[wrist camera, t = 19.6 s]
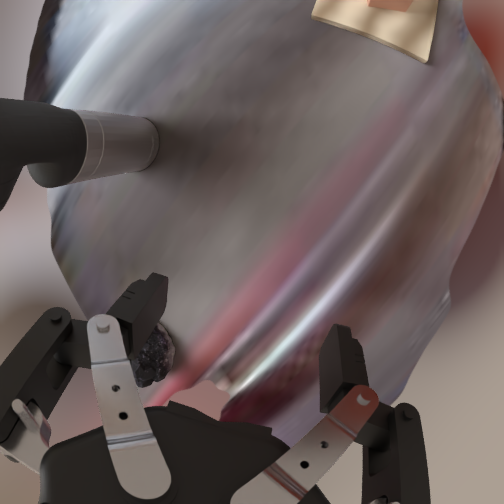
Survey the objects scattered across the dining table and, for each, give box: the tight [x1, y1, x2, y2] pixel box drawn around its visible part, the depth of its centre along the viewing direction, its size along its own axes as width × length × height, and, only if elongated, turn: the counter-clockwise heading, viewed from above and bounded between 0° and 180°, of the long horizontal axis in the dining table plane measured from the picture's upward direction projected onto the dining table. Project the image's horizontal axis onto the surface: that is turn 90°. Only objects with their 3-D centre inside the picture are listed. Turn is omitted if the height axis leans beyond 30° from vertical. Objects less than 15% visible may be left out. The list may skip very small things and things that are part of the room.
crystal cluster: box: [127, 323, 175, 388], centre depth 52 cm, size 13×14×10 cm
